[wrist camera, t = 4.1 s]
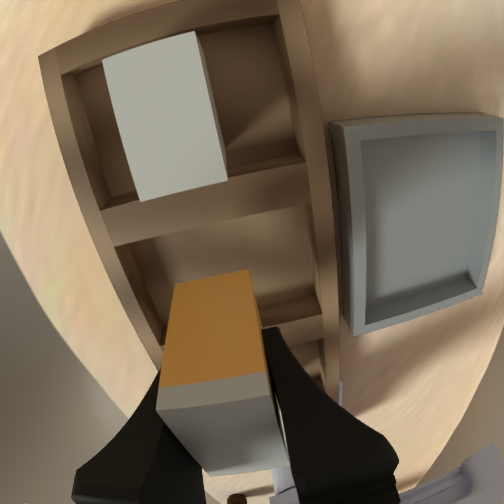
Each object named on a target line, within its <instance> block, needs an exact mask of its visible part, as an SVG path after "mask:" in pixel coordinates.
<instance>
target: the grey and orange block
mask: <svg viewBox="0 0 504 504" xmlns="http://www.w3.org/2000/svg"><path fill="white" fill-rule="evenodd" d="M261 329H263V328H262V324H261V320H260V316H259V311H258V307H257V303H256V299H255V294H254V290H253V286H252V281H251V277H250V273H249V269H246V270H241V271H236V272H232V273H227V274H222V275H217V276H213V277H208V278H203V279H198V280H193V281H188V282H184V283H179V284H175V287H174V293H173V298H172V304H171V310H170V315H169V321H168V327H167V334H166V340H165V346H164V353H163V360H162V366H161V374H160V381H159V388H158V396H157V404H156V411H157V413H158V414H159V415H160V417H161V418H162V419H163V421H164V422H165V423H166V425H167V426H168V427H169V428H170V430H171V431H172V432H173V434H174V435H175V436H176V437H177V439H178V440H179V441H180V442H181V443H182V445H183V446H184V447H185V448H186V449H187V451H188V452H189V453H190V454H191V455H192V457H193V458H194V459H195V460H196V461H197V462H198V463H199V465H200V466H201V467H202V468H203V469H204V470H205V471H206V472H207V474H208V475H209V476H210V477H211V476H222V475H232V474H240V473H248V472H255V471H261V470H268V469H274V468H279V467H285V466H290V465H289V459H288V454H287V449H286V444H285V438H284V433H283V428H282V422H281V417H280V412H279V406H278V401H277V397H276V394H275V390H274V386H273V382H272V378H271V374H270V370H269V366H268V362H267V358H266V354H265V349H264V344H263V338H262V331H261Z"/></svg>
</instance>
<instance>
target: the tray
mask: <svg viewBox="0 0 504 504" xmlns="http://www.w3.org/2000/svg"><path fill="white" fill-rule="evenodd" d="M329 125H330V133H331V140H332V149H333V157H334V166H335V175H336V185H337V196H338V208H339V220H340V235H341V252H342V272H343V304H344V318H345V320H346V322H347V324H348V326H349V329H350V331H351V333H352V335H353V337H354V336H358V335H362V334H365V333H369V332H372V331H376V330H379V329H382V328H386V327H389V326H392V325H395V324H399V323H402V322H405V321H408V320H411V319H414V318H417V317H420V316H423V315H426V314H429V313H432V312H435V311H438V310H440V309H443V308H446V307H449V306H451V305H454V304H457V303H459V302H462V301H465V300H467V299H470V298H473V297H475V296H478V295H480V294H482V291H483V287H484V283H485V279H486V275H487V271H488V266H489V262H490V257H491V252H492V247H493V241H494V236H495V230H496V223H497V216H498V209H499V201H500V191H501V180H502V166H503V140H504V121H503V118H500V117H496V116H492V115H489V114H485V113H426V114H407V115H392V116H379V117H368V118H358V119H349V120H340V121H332V122H329Z"/></svg>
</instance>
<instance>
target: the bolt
mask: <svg viewBox="0 0 504 504" xmlns="http://www.w3.org/2000/svg"><path fill="white" fill-rule="evenodd" d="M246 499H247V498H245V496H244V495H242V496H241V495H239V494H235V495H232V496H230V497H229V498H227V504H247V502H246V501H247V500H246Z"/></svg>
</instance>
